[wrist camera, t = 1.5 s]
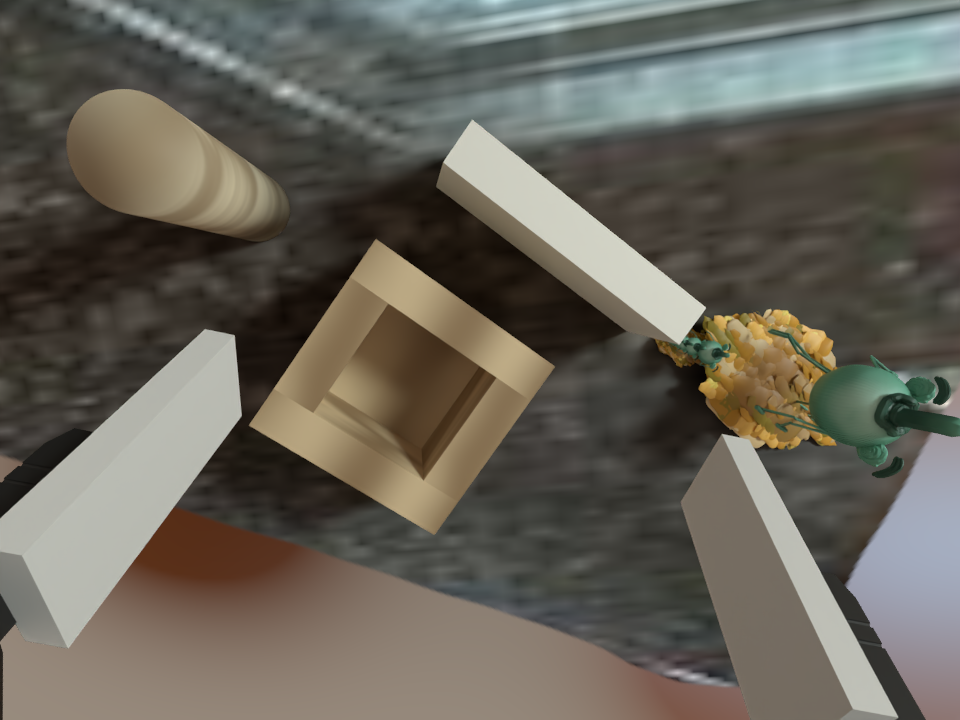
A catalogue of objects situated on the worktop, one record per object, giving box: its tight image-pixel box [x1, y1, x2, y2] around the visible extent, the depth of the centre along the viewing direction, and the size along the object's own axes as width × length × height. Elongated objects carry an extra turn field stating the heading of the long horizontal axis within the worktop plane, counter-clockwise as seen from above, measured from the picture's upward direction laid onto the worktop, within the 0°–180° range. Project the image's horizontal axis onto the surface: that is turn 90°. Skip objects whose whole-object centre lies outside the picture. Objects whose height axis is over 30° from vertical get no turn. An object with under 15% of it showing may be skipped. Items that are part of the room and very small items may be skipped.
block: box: [249, 239, 555, 535], centre depth 30 cm, size 11×11×8 cm
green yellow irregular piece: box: [655, 309, 960, 478], centre depth 31 cm, size 10×18×15 cm, turn 54°
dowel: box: [67, 89, 290, 242], centre depth 24 cm, size 4×4×14 cm
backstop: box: [436, 120, 706, 345], centre depth 30 cm, size 16×2×7 cm, turn 55°
